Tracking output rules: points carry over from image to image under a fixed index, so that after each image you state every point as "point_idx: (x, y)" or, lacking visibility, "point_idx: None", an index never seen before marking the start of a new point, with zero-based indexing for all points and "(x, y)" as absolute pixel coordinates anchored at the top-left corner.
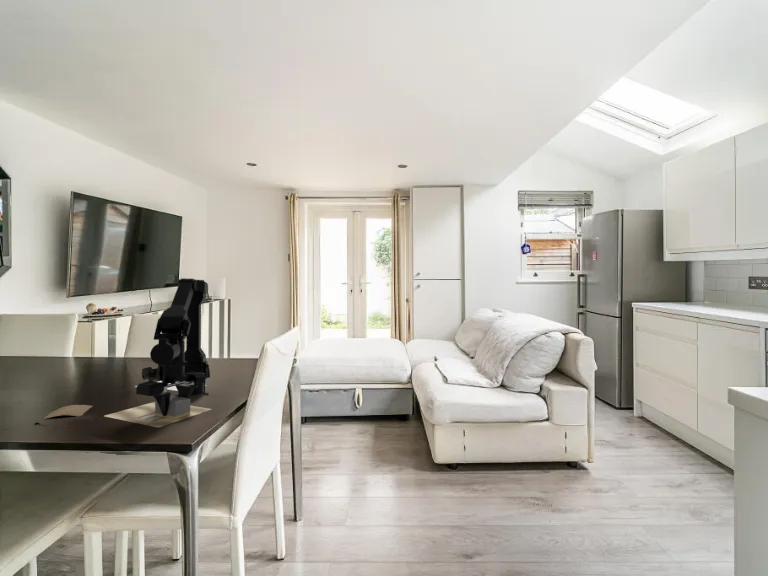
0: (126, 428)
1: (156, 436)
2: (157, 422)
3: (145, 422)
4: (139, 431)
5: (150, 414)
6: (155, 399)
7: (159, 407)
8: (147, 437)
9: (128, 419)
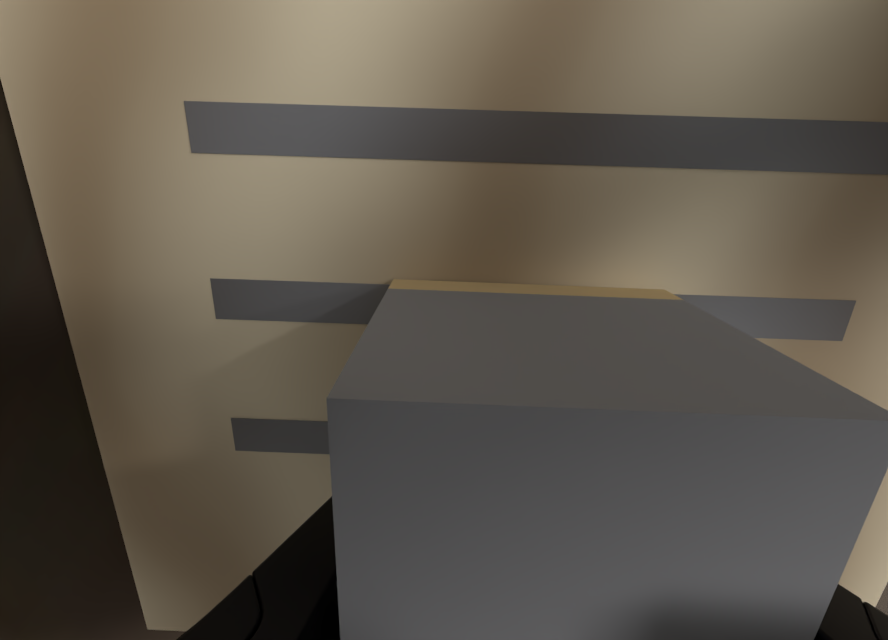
0: (20, 225)
1: (112, 636)
2: (231, 516)
3: (146, 408)
4: (75, 434)
5: (405, 157)
6: (336, 401)
7: (293, 533)
8: (53, 600)
9: (54, 61)
